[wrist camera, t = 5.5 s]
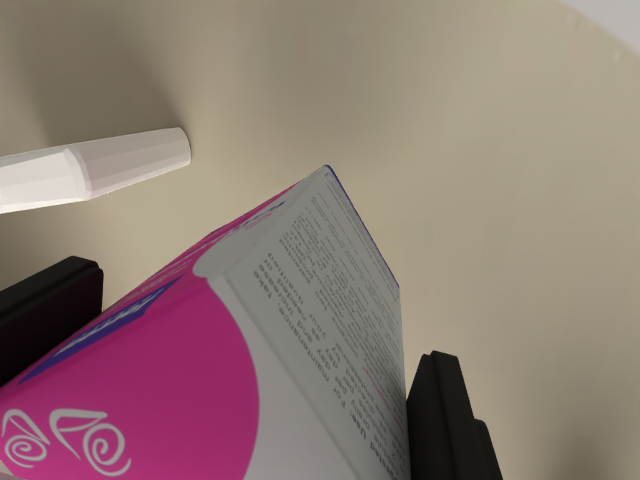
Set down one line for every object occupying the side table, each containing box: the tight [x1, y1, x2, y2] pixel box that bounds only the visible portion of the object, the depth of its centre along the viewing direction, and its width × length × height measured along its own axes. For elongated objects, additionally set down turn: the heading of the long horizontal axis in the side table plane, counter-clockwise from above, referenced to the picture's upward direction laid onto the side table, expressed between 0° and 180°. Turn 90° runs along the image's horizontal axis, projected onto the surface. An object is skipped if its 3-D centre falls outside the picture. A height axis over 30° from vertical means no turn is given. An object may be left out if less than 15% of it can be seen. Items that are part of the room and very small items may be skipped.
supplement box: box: [0, 165, 411, 480], centre depth 13 cm, size 6×6×12 cm
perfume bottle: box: [0, 127, 191, 214], centre depth 19 cm, size 8×2×12 cm, turn 100°
